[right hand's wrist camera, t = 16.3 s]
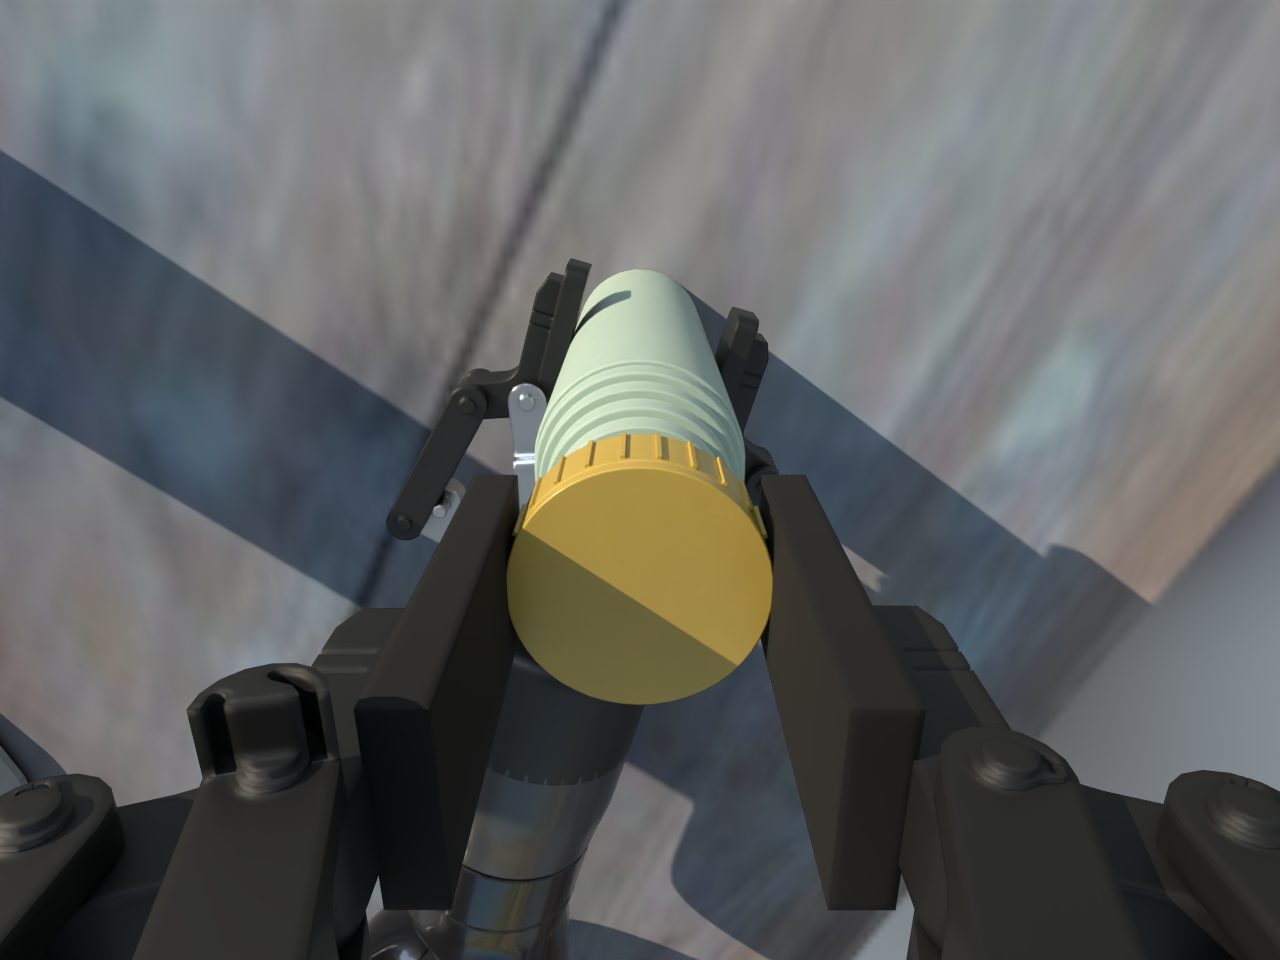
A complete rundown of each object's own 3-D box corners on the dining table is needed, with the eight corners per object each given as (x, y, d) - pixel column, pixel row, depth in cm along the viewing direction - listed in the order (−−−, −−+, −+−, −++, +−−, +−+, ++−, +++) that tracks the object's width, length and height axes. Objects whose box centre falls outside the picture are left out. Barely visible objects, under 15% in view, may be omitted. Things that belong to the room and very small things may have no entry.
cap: (689, 384, 14) (696, 413, 12) (804, 588, 15) (822, 638, 14) (468, 504, 14) (447, 546, 13) (596, 688, 16) (591, 745, 14)
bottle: (702, 385, 34) (785, 692, 14) (585, 392, 34) (513, 707, 15) (697, 265, 32) (784, 431, 13) (574, 273, 32) (476, 451, 13)
